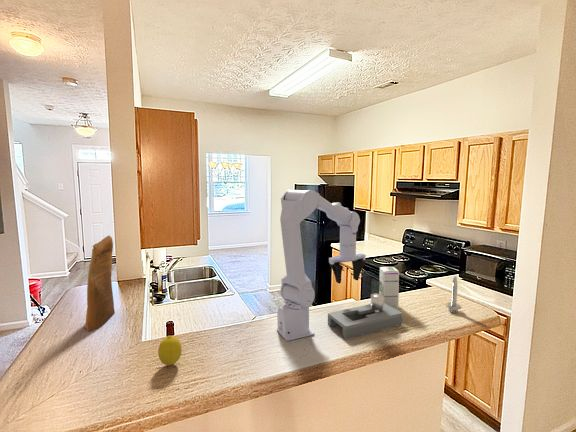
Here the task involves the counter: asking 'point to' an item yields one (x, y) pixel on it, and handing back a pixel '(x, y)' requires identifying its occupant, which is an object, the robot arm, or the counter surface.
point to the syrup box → (389, 286)
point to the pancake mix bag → (100, 285)
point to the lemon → (169, 350)
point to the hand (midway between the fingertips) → (347, 281)
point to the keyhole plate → (364, 320)
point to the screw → (454, 298)
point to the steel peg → (377, 302)
